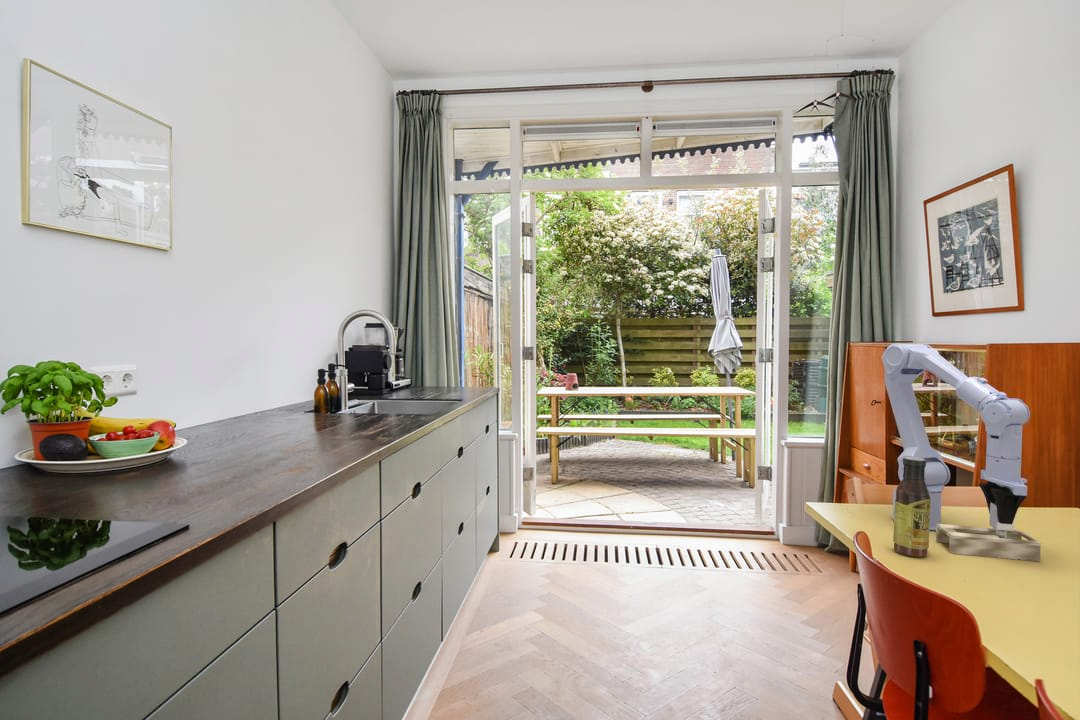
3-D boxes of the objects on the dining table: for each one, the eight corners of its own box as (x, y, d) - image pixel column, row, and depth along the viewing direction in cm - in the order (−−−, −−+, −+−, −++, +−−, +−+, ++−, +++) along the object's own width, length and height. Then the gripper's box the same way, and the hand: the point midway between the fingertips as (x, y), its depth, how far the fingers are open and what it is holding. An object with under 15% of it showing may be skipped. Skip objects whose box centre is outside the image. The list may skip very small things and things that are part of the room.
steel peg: (993, 550, 118) (995, 506, 118) (983, 543, 123) (984, 500, 122) (1018, 552, 117) (1020, 508, 117) (1007, 545, 122) (1008, 502, 121)
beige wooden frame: (951, 553, 119) (951, 535, 119) (935, 540, 127) (936, 523, 127) (1040, 561, 115) (1040, 542, 115) (1018, 547, 123) (1019, 530, 122)
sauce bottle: (917, 560, 115) (920, 462, 114) (886, 550, 120) (888, 457, 120) (935, 555, 118) (938, 459, 117) (904, 545, 124) (907, 454, 123)
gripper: (1046, 465, 111) (1044, 533, 112) (1007, 451, 125) (1005, 512, 126) (1004, 462, 113) (1001, 530, 114) (970, 449, 127) (968, 509, 128)
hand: (1001, 520), depth 120 cm, fingers closed on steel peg, 3 cm apart
